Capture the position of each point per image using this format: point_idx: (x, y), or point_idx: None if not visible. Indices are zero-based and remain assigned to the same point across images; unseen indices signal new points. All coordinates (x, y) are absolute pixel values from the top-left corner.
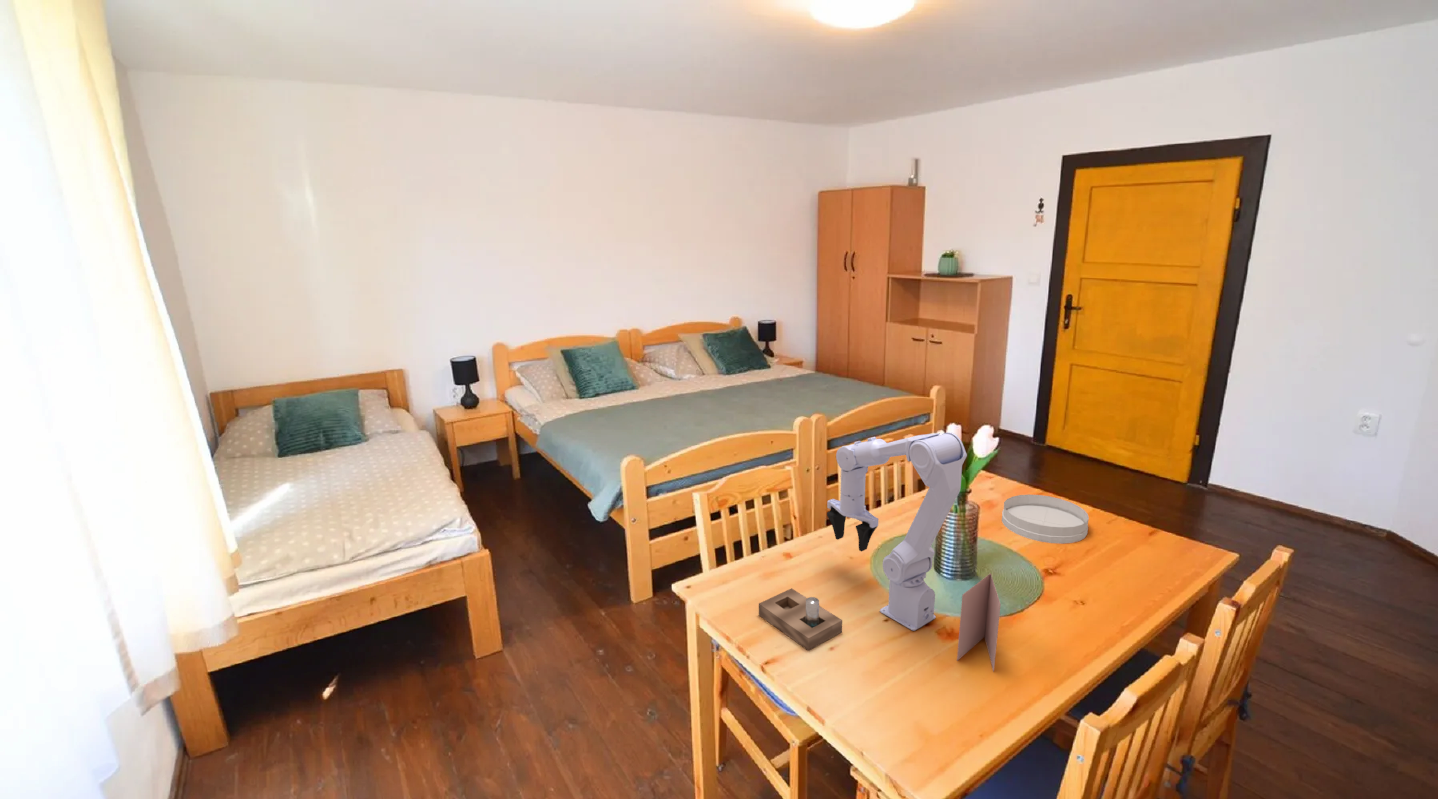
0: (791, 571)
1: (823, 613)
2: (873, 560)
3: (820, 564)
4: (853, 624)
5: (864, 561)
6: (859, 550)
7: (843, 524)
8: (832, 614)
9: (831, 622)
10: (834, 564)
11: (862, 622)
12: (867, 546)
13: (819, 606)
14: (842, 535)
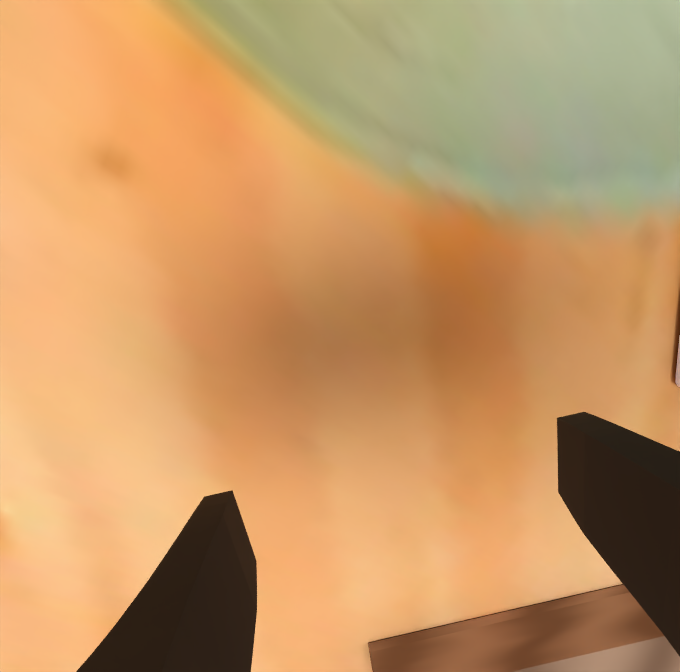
0: (141, 562)
1: (612, 666)
2: (220, 20)
3: (126, 402)
4: None
5: (204, 104)
6: (562, 493)
7: (192, 643)
8: (643, 643)
9: (676, 665)
10: (159, 327)
11: None
12: (610, 425)
13: (564, 661)
14: (231, 519)
